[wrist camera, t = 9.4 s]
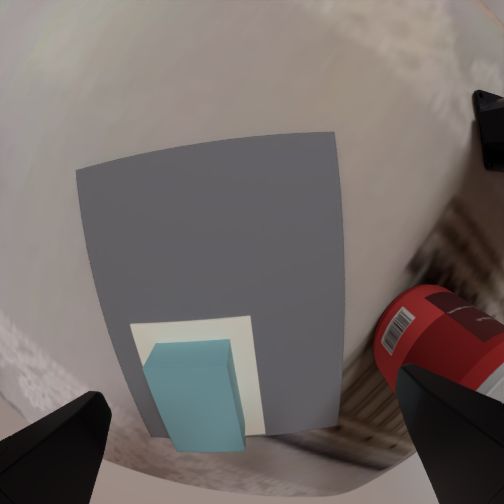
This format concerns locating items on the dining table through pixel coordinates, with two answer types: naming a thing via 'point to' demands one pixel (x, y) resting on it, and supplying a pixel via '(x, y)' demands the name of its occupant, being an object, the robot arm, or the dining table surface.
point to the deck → (197, 395)
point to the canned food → (441, 340)
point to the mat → (227, 268)
